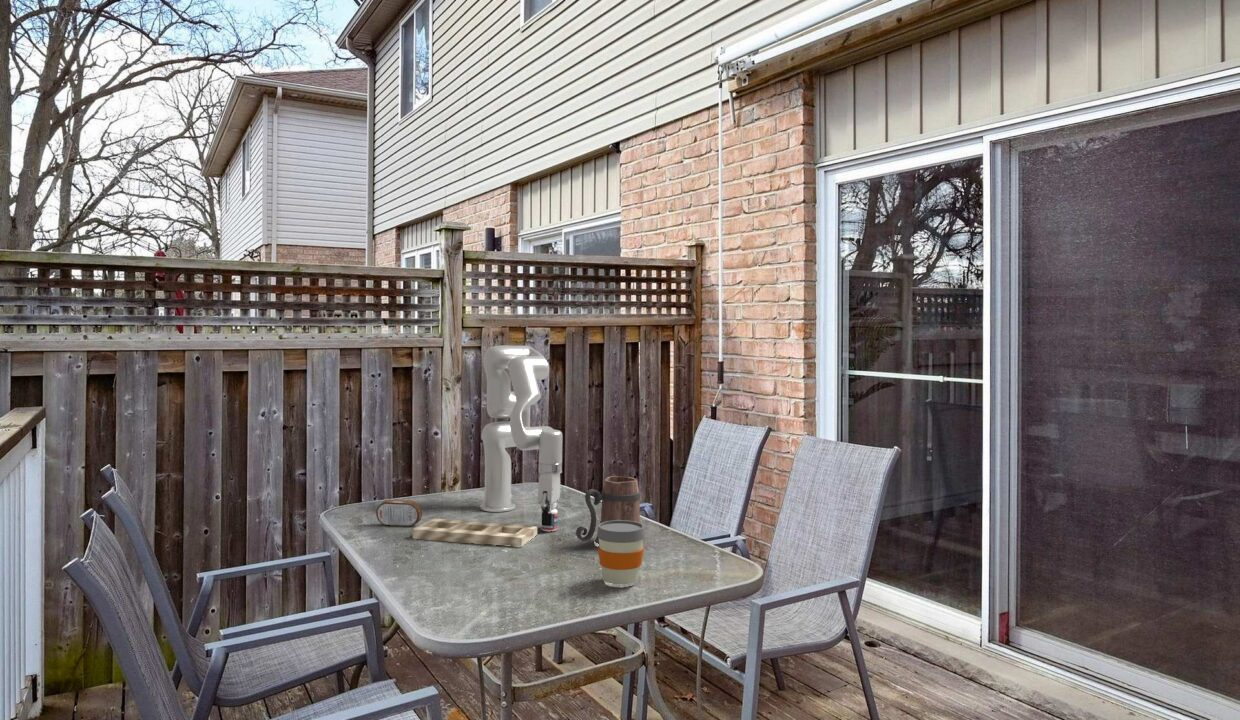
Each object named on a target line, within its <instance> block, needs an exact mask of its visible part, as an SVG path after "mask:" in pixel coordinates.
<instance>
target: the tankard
mask: <svg viewBox="0 0 1240 720" xmlns="http://www.w3.org/2000/svg"><path fill="white" fill-rule="evenodd" d="M592 494H593V499H594V501H593V503H592V501H591V496H592ZM584 498H585V503H586V507H587V508H588V510H589V513H590V525H589V530H588V529H587V528H586V527H585V526H582V525H580V526H579V527H577V528H576V530H575V535H576V537H577V539H579V540H580V541H582V542H588V541H590V540H591V539H592V537H593V536H594V534H595V531H596V527H597V513H596V509H595V508H594V506H593V505H595V506H597V505H599V504H600V503H601V512H600V521H599V524H600V523H602V522H606V521H612V520H628V521H635V522H639V523H641V524H642V522H641V513H640V511H641V507H640V505H641V504H640V499H641V492H640V488H639V482H638V478H635V477H631V476H619V475H618V476H617V475H614V476H613V475H612V476H608V477H606V478H605V479H604V482H603V486H602V490H601V491H598V490H596V489H594V488H590V489H588V490H587V491H586V493H585V495H584ZM582 536H583V537H582ZM594 540H595V539H594ZM644 540H645V538H644V539H643V542H644ZM595 542H596V543H598V544H599V539H598V537H597V536H596V540H595Z"/></svg>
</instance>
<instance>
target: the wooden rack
mask: <svg viewBox="0 0 1240 720" xmlns="http://www.w3.org/2000/svg"><path fill="white" fill-rule="evenodd" d="M536 535H537V536H538V526H536V525H523V524H510V523H500V522H499V523H498V522H496V523H495V522H487V521H486V522H485V521H484V522H483V521H474V520H473V521H470V520H458V519H448V518H447V519H444V518H435V517H434V518H432V519H429V520H428V521H426V522H423V523H422V524H419V525H418V526H415V528H413V529H412V539H413V540H422V541H423V540H426V541H437V542H449V543H462V544H471V543H474V544H473V545H484V544H494V545H493V546H496V545H510V546H523V545H524V544H526V543H527V542H528V541H530V540H531V539H532V538H534V537H535V536H536ZM537 536H536V537H537ZM536 537H535V538H536ZM535 538H534V539H535ZM532 540H533V539H532ZM532 540H531V541H532ZM531 541H530V542H531ZM528 543H529V542H528ZM528 543H527V544H528ZM527 544H526V545H527ZM524 546H525V545H524ZM524 546H523V547H524Z"/></svg>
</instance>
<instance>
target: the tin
mask: <svg viewBox="0 0 1240 720" xmlns="http://www.w3.org/2000/svg"><path fill="white" fill-rule="evenodd" d="M422 511H423V510H422V508H421V506H420V505H419V504H418V502H416V501H413V500H402V499H401V500H399V499H387V500H383V501H382V502H381V503H380V504H379V505H378V506H377V508H376V512H375V514H376V519H377V521H378V522H379V523H380V524H381V525H383V526H386V525H390V526H389V527H402V526H411V527H414V526H415V525H416V524H418V523H419V522H420V521H421V520H422V516H423V512H422Z"/></svg>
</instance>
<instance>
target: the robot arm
mask: <svg viewBox="0 0 1240 720" xmlns="http://www.w3.org/2000/svg"><path fill="white" fill-rule="evenodd" d="M483 369H484V373H485V377H486V412H487V414H488V416H489V417H490V418H493V419H507V418H509V420H508V421H507V420H504V421H493V422H489V423H487V424H486V425H484V427H483V429H482V433H481V436H482V443H483V450H484V452H483V453H484V502H483V503H481V504H480V506H479V507H480V508H479V509H480V510H481V511H484V512H490V513H502V512H508V511H513V510H515V508H516V504H515V503H513V502H512V499H513V497H514V496H513V493H512V459H511V456H510V454H509V453H508V451H507V450H506V449H507V448H517V449H518V450H519V451H531V450H532V451H534V450H538V473H539V477H538V484H537V485H538V488H537V490H538V491H537V503H538V504H539V505H540V509H541V526H542V525H548V526H551V524H552V513H551V505H552V504H553V503H554V502H555V503H556V508H555V509H556V510H557V511H558V507H559V506H558V505H559V504H558V501H559V500H560V497H561V474H562V473H563V432H562V431H561V430H558V429H554V428H553V427H551V426H547V425H543V426H539V425H538V426H531V406H533V405H535V404H536V403H538V402H539V401H540V399H542V398H541V396H542V394H541V392H540V387H539V384H538V381H541V380H546V379H547V378H548V377H549V374H550V365H549V362H548V361H547V359H546V357H545V356H544V355H543V354H541V353H540V352H539V351H538V350H536V349H535V348H533V347H532V346H530V345H512V344H511V345H509V344H507V345H505V344H504V345H494V346H490V347H489V348H487V349H486V350H485V352H484V354H483ZM506 370H508V372H507V371H506ZM511 385H512V389H513V391H512V390H511ZM546 502H549V503H546ZM546 505H548V506H549V508H548V507H547V506H546Z"/></svg>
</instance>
